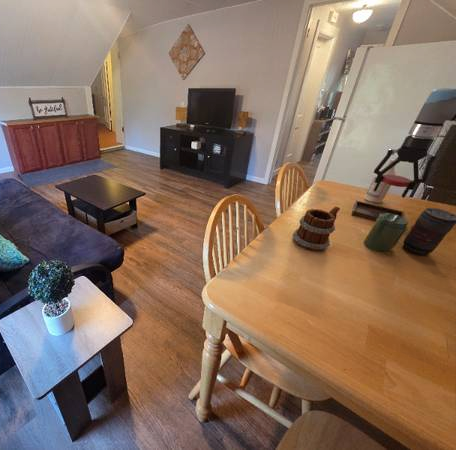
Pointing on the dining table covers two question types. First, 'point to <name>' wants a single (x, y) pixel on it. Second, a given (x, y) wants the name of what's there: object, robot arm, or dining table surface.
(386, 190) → the bath foam
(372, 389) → the dining table surface
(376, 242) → the jar
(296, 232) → the mug
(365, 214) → the tray
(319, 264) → the dining table surface
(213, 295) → the dining table surface
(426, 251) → the camera lens
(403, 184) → the lid
